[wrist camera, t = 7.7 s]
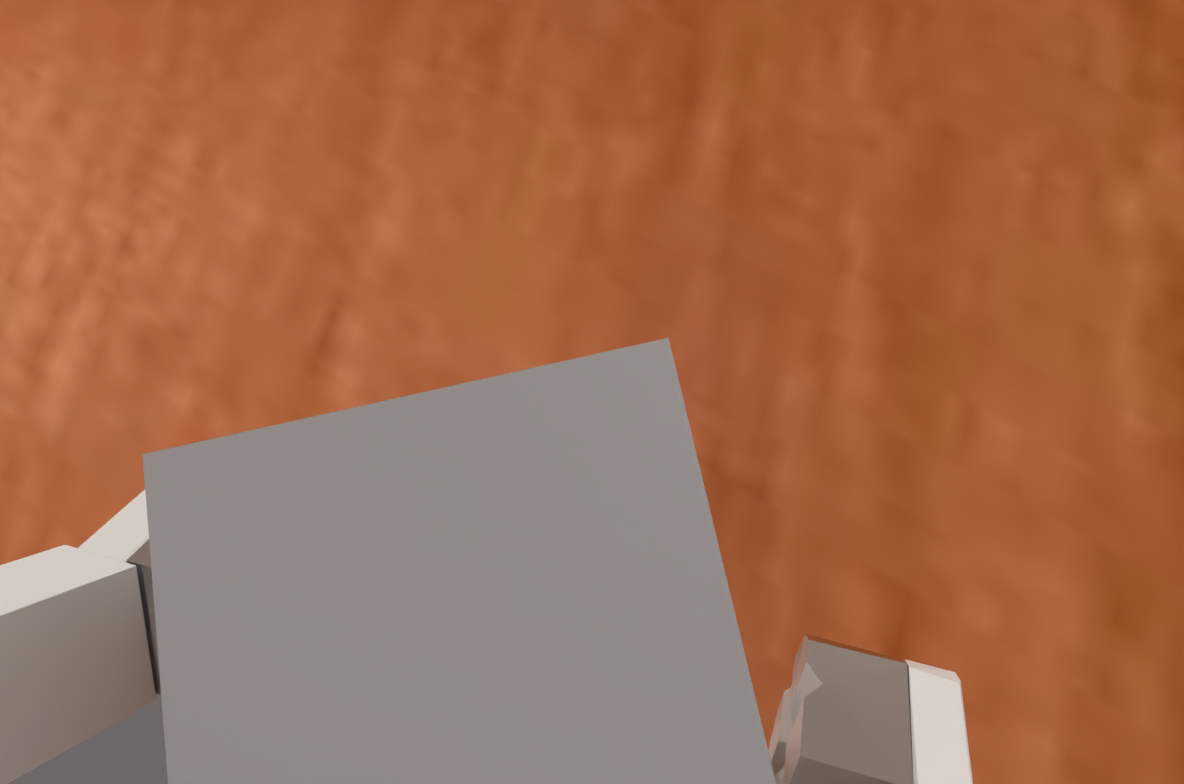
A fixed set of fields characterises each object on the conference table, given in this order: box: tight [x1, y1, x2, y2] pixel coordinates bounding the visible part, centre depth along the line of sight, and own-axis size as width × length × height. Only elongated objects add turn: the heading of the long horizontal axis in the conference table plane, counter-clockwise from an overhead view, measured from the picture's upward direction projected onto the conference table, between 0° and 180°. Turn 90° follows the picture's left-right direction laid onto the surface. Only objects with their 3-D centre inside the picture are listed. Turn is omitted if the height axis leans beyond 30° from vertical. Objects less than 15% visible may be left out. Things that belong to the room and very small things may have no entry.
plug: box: [143, 338, 776, 784], centre depth 11 cm, size 4×4×9 cm
